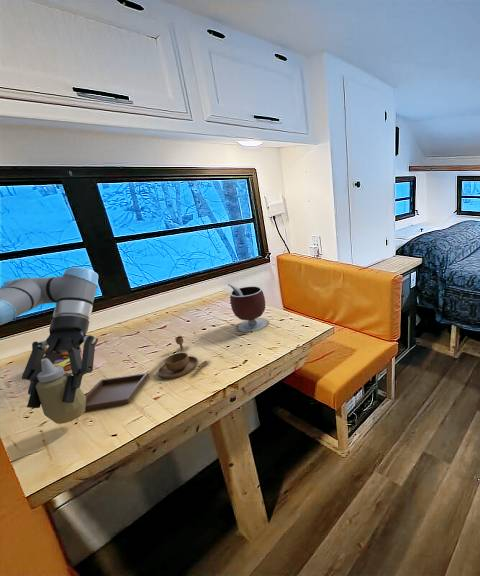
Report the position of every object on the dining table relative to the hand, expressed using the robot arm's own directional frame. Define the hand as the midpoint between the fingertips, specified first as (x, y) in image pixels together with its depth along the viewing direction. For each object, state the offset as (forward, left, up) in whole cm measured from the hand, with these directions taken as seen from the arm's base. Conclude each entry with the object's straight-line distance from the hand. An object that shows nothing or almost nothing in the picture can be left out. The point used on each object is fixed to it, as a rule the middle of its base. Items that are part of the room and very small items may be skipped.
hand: (50, 404), depth 77 cm
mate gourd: (+38, +55, -11) cm, 67 cm away
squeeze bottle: (0, +4, -7) cm, 8 cm away
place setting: (+19, +30, -11) cm, 37 cm away
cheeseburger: (-24, +40, -11) cm, 47 cm away
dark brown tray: (+3, +17, -11) cm, 20 cm away
